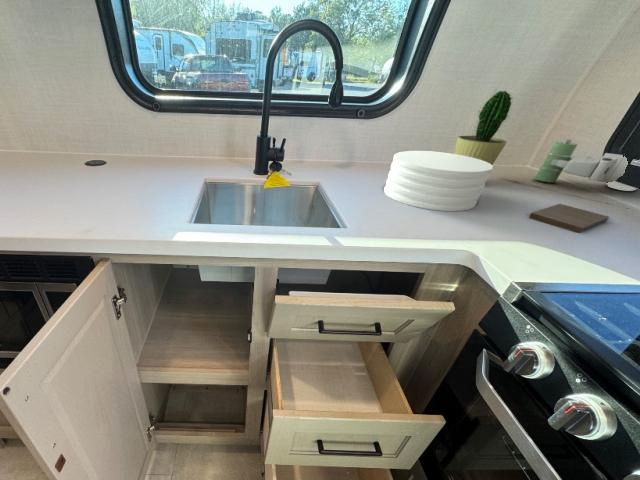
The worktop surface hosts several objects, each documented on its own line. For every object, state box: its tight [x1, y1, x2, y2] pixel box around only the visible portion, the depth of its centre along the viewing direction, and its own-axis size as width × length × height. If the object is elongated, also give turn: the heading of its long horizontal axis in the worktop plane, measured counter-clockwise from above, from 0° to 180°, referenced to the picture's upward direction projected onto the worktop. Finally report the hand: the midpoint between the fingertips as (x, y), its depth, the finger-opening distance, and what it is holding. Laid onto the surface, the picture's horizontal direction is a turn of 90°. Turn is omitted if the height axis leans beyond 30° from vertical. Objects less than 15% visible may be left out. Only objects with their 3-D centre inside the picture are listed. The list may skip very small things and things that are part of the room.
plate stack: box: [383, 150, 494, 212], centre depth 103 cm, size 28×28×12 cm
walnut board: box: [528, 203, 610, 234], centre depth 91 cm, size 18×12×2 cm, turn 119°
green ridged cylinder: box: [534, 138, 579, 183], centre depth 117 cm, size 7×7×14 cm
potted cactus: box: [453, 90, 516, 166], centre depth 114 cm, size 15×15×30 cm
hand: (553, 160), depth 118 cm, fingers closed on green ridged cylinder, 6 cm apart
